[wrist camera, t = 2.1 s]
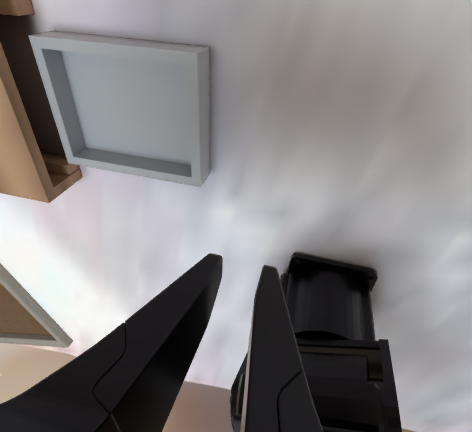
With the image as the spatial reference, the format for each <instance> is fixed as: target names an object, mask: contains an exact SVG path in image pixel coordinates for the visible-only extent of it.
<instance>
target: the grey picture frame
mask: <svg viewBox="0 0 472 432" xmlns="http://www.w3.org/2000/svg"><path fill="white" fill-rule="evenodd" d="M72 342H73V340H72V339H71V338H70V337H69V336H68V335H67V334H66V333H65V332H64V331H63V330H62V328H61V327H60V326H59V325H58V324H57V323H56V322H55V321H54V320H53V319H52V318H51V317H50V316H49V315H48V314H47V312H46V311H45V310H44V309H43V308H42V307H41V306H40V305H39V304H38V303H37V302H36V301H35V300H34V299H33V298H32V297H31V295H30V294H29V293H28V292H27V291H26V290H25V289H24V288H23V287H22V286H21V285H20V284H19V283H18V282H17V281H16V279H15V278H14V277H13V276H12V275H11V274H10V273H9V272H8V271H7V270H6V269H5V268H4V267H3V266H2V265H1V264H0V343H11V344H25V345H39V346H53V347H69V346H70V344H71V343H72Z"/></svg>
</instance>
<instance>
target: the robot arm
mask: <svg viewBox="0 0 472 432" xmlns="http://www.w3.org/2000/svg"><path fill="white" fill-rule="evenodd" d="M295 259H297V260H299V261H296V260H295ZM222 263H223V258H222V256H221V255H217V254H212V253H210V254H208V255H207V256H205V257H204V258H203V259H202V260H200V261H199V262H198V263H197V264H195V265H194V266H193V267H192V268H190V269H189V270H188V271H187V272H186V273H184V274H183V275H182V276H181V277H179V278H178V279H177V280H176V281H174V282H173V283H172V284H171V285H169V286H168V287H167V288H166V289H164V290H163V291H162V292H161V293H159V294H158V295H157V296H156V297H155V298H153V299H152V300H151V301H150V302H148V303H147V304H146V305H145V306H143V307H142V308H141V309H140V310H138V311H137V312H136V313H135V314H133V315H132V316H131V317H130V318H128V319H127V320H126V321H125V323H122V324H121V325H120V326H118V327H117V328H116V329H115V330H113V331H112V332H111V333H110V334H108V335H107V336H106V337H104V338H103V339H102V340H100V341H99V342H98V343H97V344H95V345H94V346H92V347H91V348H89V349H88V350H87V351H85V352H84V353H82V354H81V355H79V356H78V357H76V358H75V359H73V360H72V361H70V362H69V363H67V364H66V365H64V366H63V367H61V368H60V369H59V370H57V371H55V372H54V373H52V374H51V375H49V376H48V377H46V378H45V379H43V380H42V381H40V382H39V383H38V384H36V385H34V386H33V387H31V388H30V389H28V390H27V391H25V392H23V393H22V394H20V395H18V396H16V397H14V398H12V399H10V400H8V401H6V402H4V403H1V404H0V432H162V430H163V427H164V425H165V423H166V421H167V418H168V416H169V413H170V411H171V409H172V407H173V404H174V402H175V400H176V397H177V395H178V393H179V390H180V388H181V386H182V384H183V381H184V379H185V377H186V374H187V372H188V370H189V367H190V365H191V363H192V360H193V358H194V356H195V353H196V351H197V349H198V346H199V344H200V342H201V339H202V337H203V335H204V332H205V330H206V328H207V325H208V322H209V319H210V316H211V313H212V309H213V306H214V302H215V299H216V296H217V292H218V289H219V285H220V282H221V278H222ZM368 275H372V276H368ZM376 280H377V272H376V271H375V270H373V269H369V268H364V267H360V266H355V265H350V264H345V263H340V262H336V261H331V260H326V259H321V258H316V257H311V256H307V255H302V254H293V255H292V256H291V259H290V264H289V268H288V273H287V274H286V273H284V274H282V275H281V279H280V278H279V274H278V270H277V268H276V267H272V266H268V265H264V266H263V268H262V272H261V275H260V279H259V282H258V286H257V290H256V294H255V299H254V306H253V314H252V322H251V330H250V337H249V346H248V352H247V354H246V356H245V359H244V361H243V363H242V365H241V367H240V370H239V372H238V374H237V376H236V378H235V381H234V383H233V385H232V388H231V397H230V405H231V422H232V427H233V430H234V432H402V429H401V421H400V414H399V407H398V400H397V394H396V387H395V381H394V375H393V368H392V362H391V356H390V350H389V344H388V340H383V339H379V341H376V340H375V331H374V322H373V313H372V304H371V295H370V293H371V291H372V288H373V286H374V284H375V282H376Z"/></svg>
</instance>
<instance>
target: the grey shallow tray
mask: <svg viewBox="0 0 472 432" xmlns="http://www.w3.org/2000/svg"><path fill="white" fill-rule="evenodd" d="M28 36H29V39H30V43H31V46H32V49H33V52H34V55H35V59H36V62H37V65H38V68H39V71H40V75H41V78H42V81H43V84H44V87H45V91H46V94H47V97H48V100H49V103H50V107H51V110H52V113H53V116H54V119H55V123H56V126H57V129H58V132H59V135H60V139H61V142H62V145H63V148H64V151H65V155H66V158H67V161H68V163H71V164H76V165H82V166H87V167H93V168H98V169H104V170H109V171H115V172H120V173H126V174H131V175H137V176H142V177H148V178H153V179H159V180H165V181H170V182H176V183H181V184H187V185H192V186H198V187H201V186H202V184H203V183H204V181H205V180H206V178H207V177H208V175H209V174H210V47H208V46H198V45H188V44H178V43H168V42H158V41H148V40H138V39H129V38H119V37H109V36H99V35H89V34H79V33H69V32H59V31H50V32H44V33H39V34H33V35H28Z"/></svg>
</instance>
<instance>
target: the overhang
mask: <svg viewBox="0 0 472 432" xmlns="http://www.w3.org/2000/svg"><path fill="white" fill-rule="evenodd" d="M0 14H4V15H15V16H22V15H31V14H34V11H33V7H32V4H31V0H0ZM78 168H79V165H76V164H71V163H68V161H67V158H66V157H64V156H58V155H53V154H47V153H41V152H40V150H39V147H38V144H37V141H36V139H35V136H34V133H33V130H32V128H31V125H30V122H29V119H28V117H27V114H26V111H25V108H24V106H23V103H22V100H21V97H20V95H19V92H18V89H17V86H16V84H15V81H14V78H13V75H12V73H11V70H10V67H9V64H8V62H7V59H6V56H5V53H4V51H3V48H2V45H1V42H0V193H4V194H8V195H13V196H18V197H23V198H28V199H32V200H37V201H42V202H47V203H50V202H51V201H52V200H54V199H55V198H56V197H57V196H59V195H60V194H61V193H63V192H64V191H65V190H67V189H68V188H69V187H70V186H72V185H73V184H74V183H76V182H77V181H78V180H79V179H81V178H82V176H81V172H80V169H78Z"/></svg>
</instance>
